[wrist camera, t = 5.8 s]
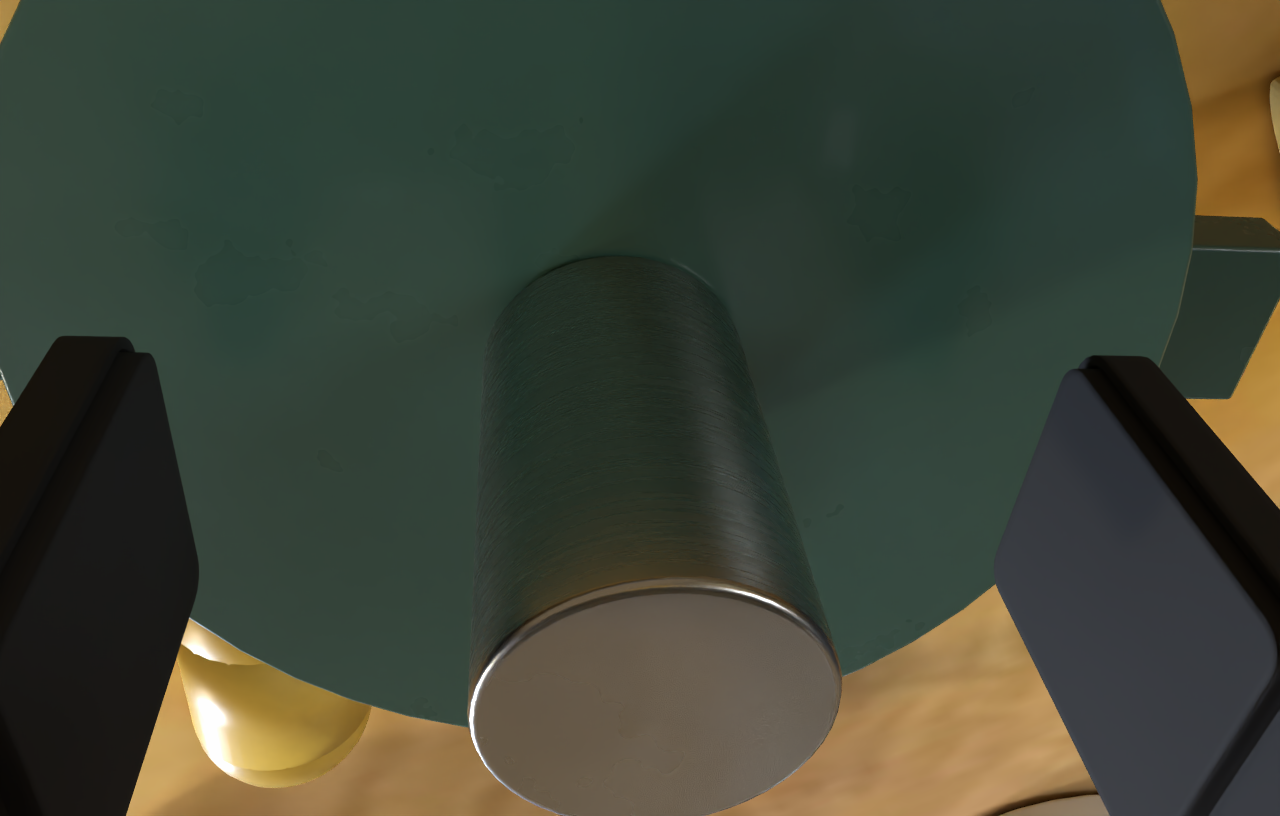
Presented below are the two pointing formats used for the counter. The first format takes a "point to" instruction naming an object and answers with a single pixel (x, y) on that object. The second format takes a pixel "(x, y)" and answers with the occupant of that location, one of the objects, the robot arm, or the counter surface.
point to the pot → (1222, 305)
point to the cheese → (1275, 107)
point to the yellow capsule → (263, 715)
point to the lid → (596, 332)
